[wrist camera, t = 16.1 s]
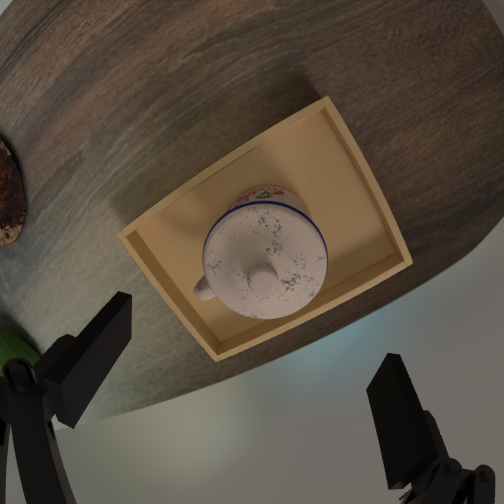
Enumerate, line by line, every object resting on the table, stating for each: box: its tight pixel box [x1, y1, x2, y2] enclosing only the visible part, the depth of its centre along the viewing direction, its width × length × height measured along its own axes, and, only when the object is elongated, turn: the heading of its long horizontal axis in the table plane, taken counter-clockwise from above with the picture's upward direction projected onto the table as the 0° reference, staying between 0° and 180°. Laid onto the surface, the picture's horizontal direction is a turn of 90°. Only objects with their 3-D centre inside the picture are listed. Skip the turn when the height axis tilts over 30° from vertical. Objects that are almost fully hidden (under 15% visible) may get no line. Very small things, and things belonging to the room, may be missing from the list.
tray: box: [116, 96, 413, 362], centre depth 30 cm, size 24×18×3 cm
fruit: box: [0, 326, 41, 377], centre depth 37 cm, size 15×10×10 cm, turn 28°
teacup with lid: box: [194, 186, 328, 319], centre depth 25 cm, size 12×9×12 cm
